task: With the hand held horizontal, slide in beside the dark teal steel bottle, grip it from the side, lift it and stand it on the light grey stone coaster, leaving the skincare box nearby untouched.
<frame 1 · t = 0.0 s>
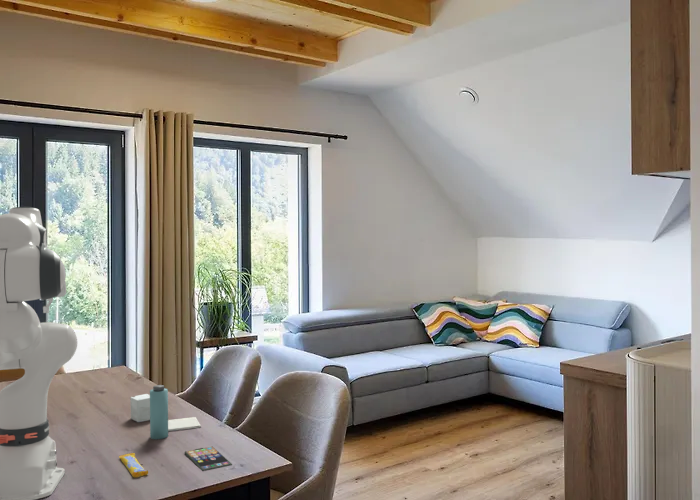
hand: (27, 313, 180), 39 cm above the table, tool pointing down, fingers open, 8 cm apart
coaster: (182, 424, 204), on the table
smartphone: (207, 461, 174), on the table
bottle: (159, 436, 193), on the table
candy bar: (133, 469, 168), on the table
skincare box: (142, 419, 211), on the table
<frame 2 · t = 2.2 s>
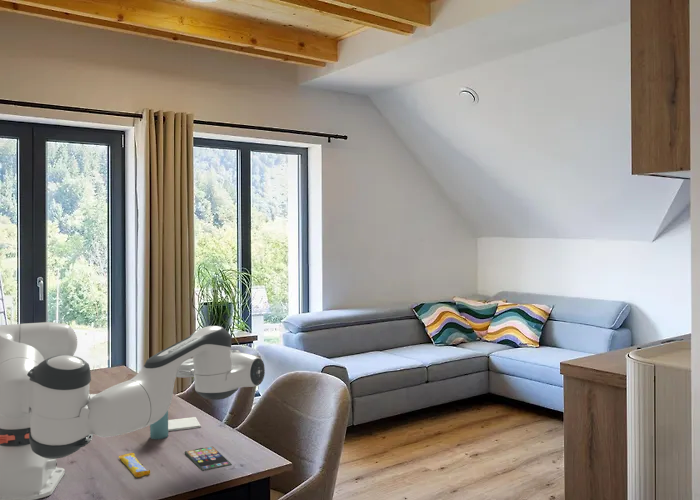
hand: (185, 362, 185), 24 cm above the table, tool horizontal, fingers open, 8 cm apart
nothing on the table moved.
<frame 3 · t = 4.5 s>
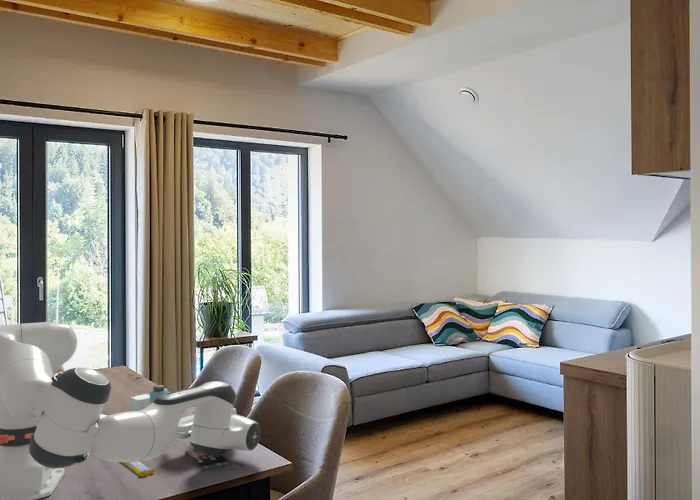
hand: (181, 417, 187), 7 cm above the table, tool horizontal, fingers open, 8 cm apart
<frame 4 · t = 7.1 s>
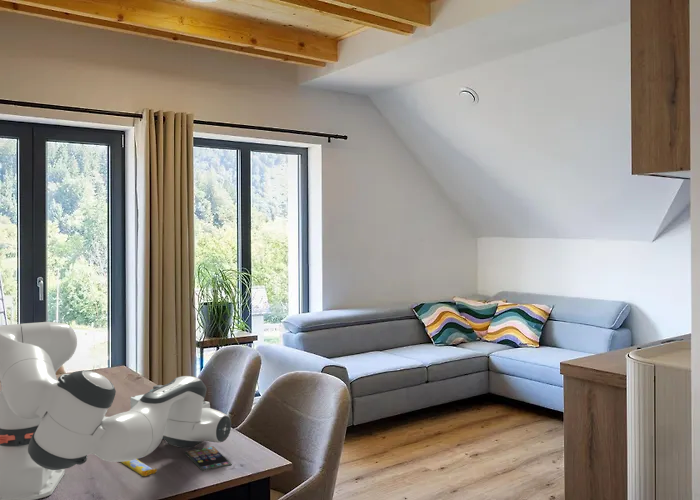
hand: (157, 411, 193), 8 cm above the table, tool horizontal, fingers closed on bottle, 5 cm apart
bottle: (159, 436, 193), on the table, touching gripper
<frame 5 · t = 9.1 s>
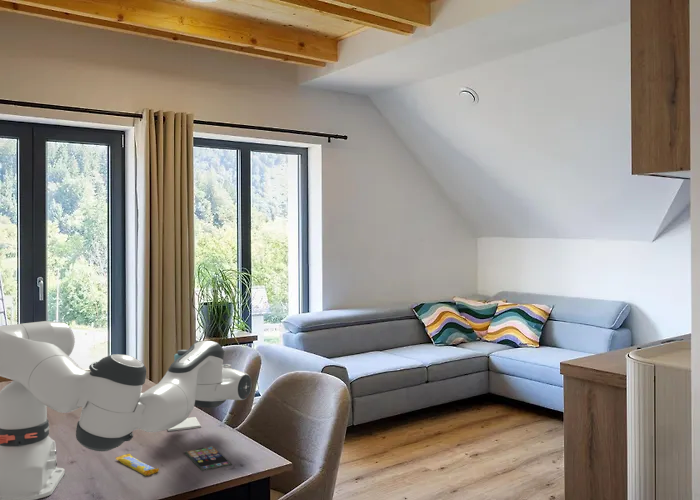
hand: (181, 373, 202), 17 cm above the table, tool horizontal, fingers closed on bottle, 5 cm apart
bottle: (183, 398, 202), point 9 cm above the table, touching gripper
when the fingers open (9 cm above the table, at t = 11.4 s): bottle stays where it is, resting on coaster.
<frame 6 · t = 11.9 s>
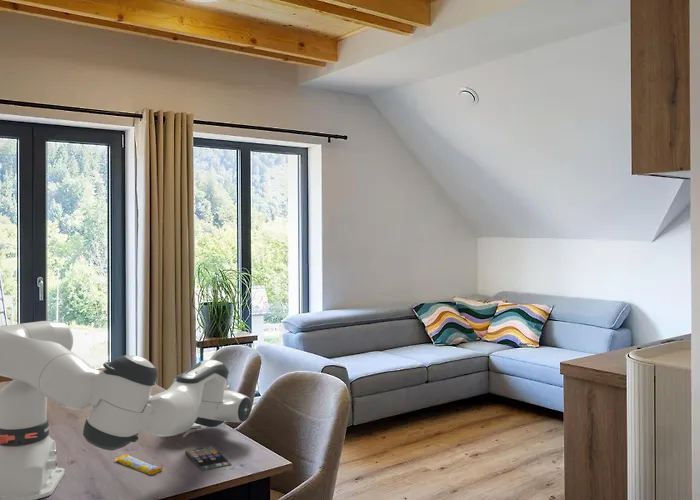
hand: (180, 394, 205), 10 cm above the table, tool horizontal, fingers open, 8 cm apart
bottle: (182, 422, 204), point 1 cm above the table, touching coaster
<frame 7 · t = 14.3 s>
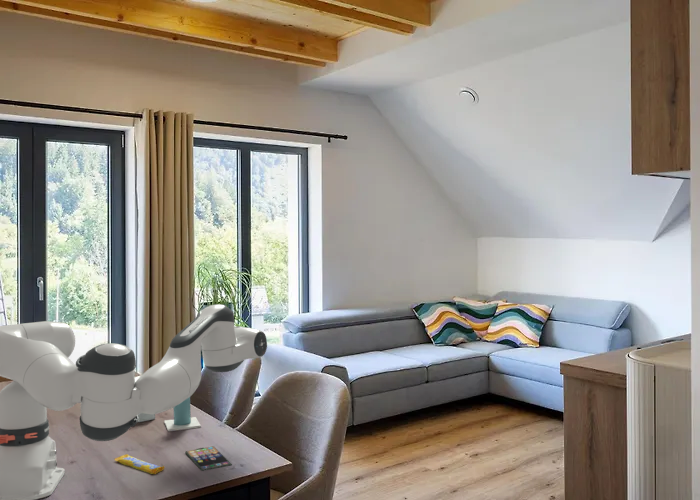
hand: (191, 338, 198), 29 cm above the table, tool horizontal, fingers open, 8 cm apart
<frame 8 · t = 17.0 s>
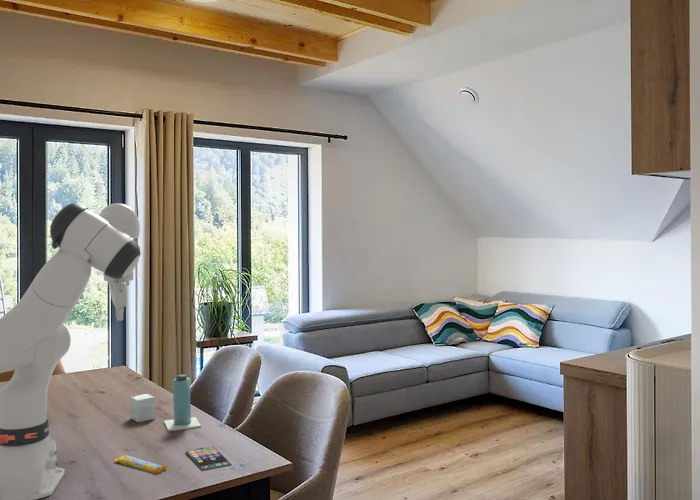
hand: (119, 318, 204), 34 cm above the table, tool pointing down, fingers open, 8 cm apart
at the end: bottle inside the target area on the coaster (0.1 cm from its centre), point 0.6 cm above the coaster's base; bottle tilted 1°; the gripper is holding nothing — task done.
